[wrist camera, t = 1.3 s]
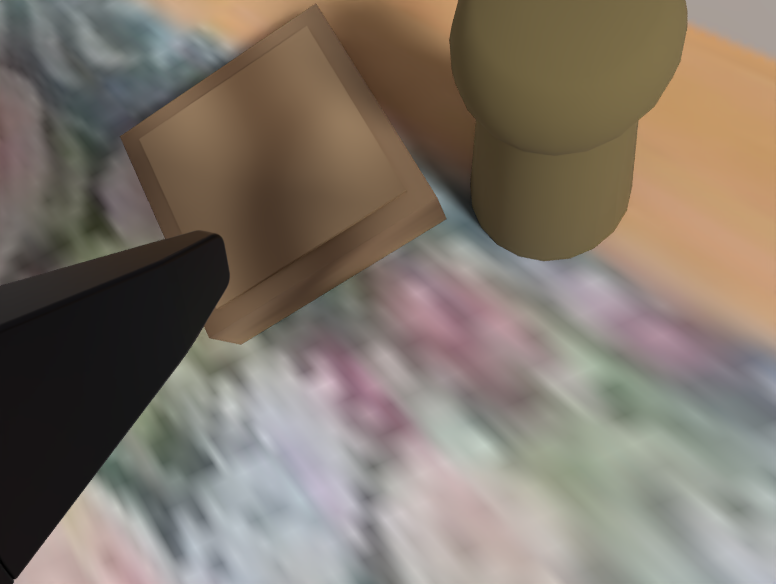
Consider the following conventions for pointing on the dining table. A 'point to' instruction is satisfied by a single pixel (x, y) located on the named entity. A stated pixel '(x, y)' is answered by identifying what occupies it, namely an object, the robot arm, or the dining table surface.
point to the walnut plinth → (282, 174)
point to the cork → (559, 112)
